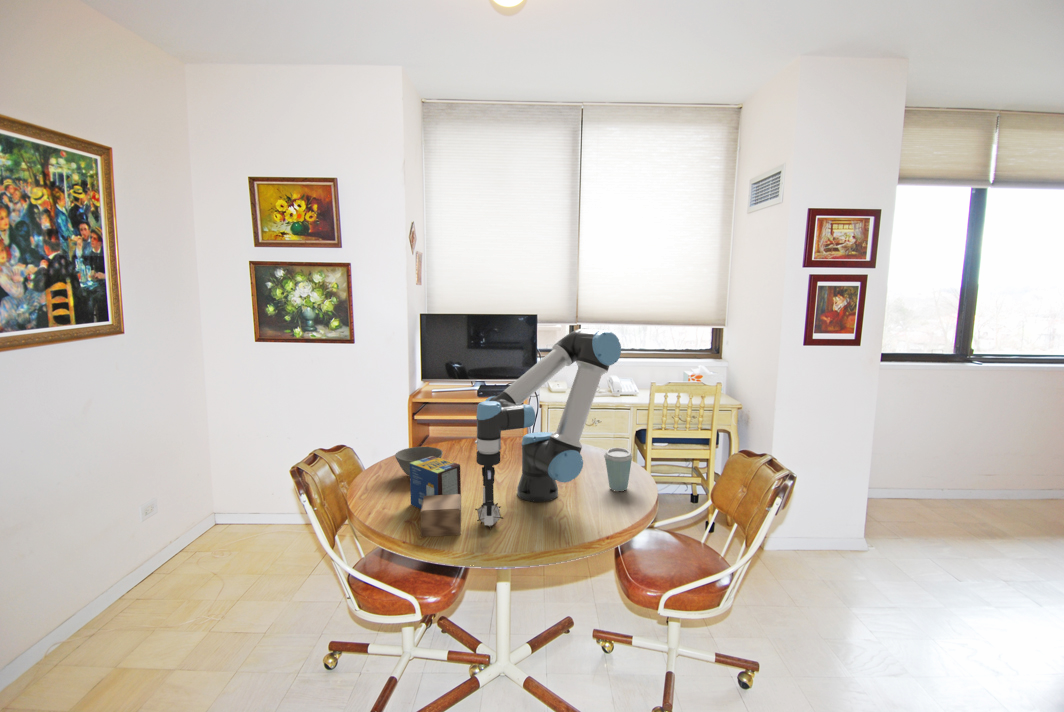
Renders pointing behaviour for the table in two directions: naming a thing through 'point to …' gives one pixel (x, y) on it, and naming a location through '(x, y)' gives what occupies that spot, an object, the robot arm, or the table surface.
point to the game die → (495, 514)
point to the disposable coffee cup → (618, 467)
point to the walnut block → (441, 515)
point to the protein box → (433, 479)
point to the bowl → (415, 456)
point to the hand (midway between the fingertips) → (487, 515)
